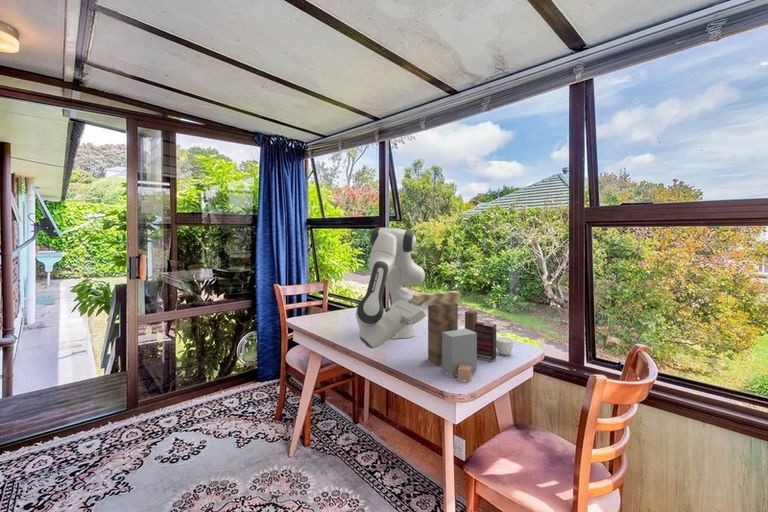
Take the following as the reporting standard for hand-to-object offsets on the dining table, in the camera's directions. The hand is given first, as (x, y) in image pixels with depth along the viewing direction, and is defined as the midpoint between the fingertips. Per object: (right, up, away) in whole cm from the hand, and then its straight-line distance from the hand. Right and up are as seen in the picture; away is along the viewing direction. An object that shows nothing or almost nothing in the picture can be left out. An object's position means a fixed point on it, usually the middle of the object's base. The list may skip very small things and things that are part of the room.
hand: (421, 300), depth 140 cm
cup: (+41, -27, +15) cm, 51 cm away
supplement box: (+30, -27, +8) cm, 41 cm away
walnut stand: (+10, -28, +6) cm, 30 cm away
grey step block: (+15, -28, -5) cm, 32 cm away
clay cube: (+15, -29, -12) cm, 35 cm away
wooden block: (+26, -27, +21) cm, 43 cm away
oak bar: (+7, -2, +3) cm, 8 cm away
